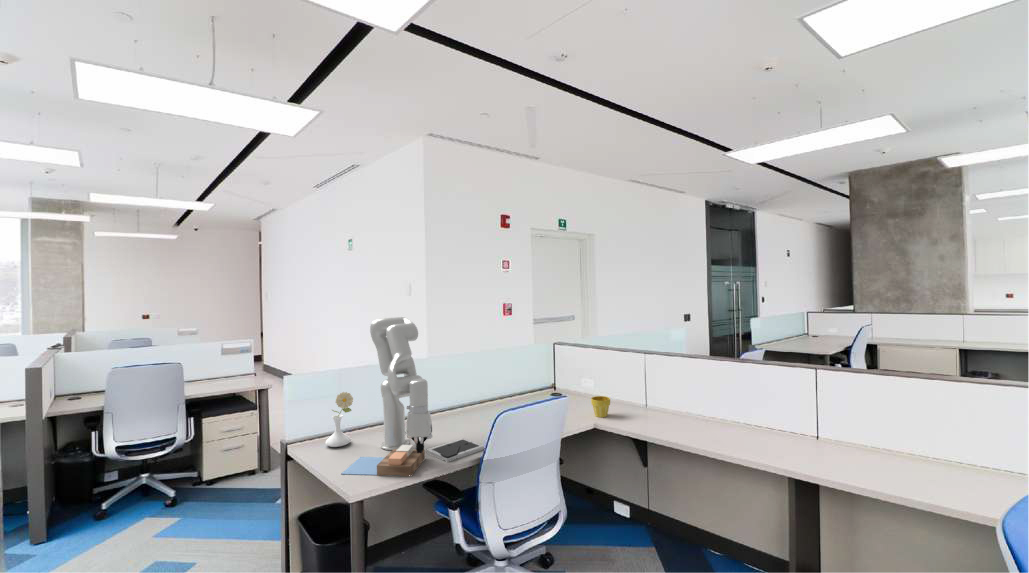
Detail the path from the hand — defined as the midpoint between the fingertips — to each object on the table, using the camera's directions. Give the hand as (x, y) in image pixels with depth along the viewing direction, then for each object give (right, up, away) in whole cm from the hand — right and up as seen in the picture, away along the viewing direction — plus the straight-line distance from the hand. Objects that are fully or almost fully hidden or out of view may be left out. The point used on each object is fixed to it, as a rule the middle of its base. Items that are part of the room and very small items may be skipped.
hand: (420, 452), depth 202 cm
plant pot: (+87, -2, +62) cm, 107 cm away
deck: (-7, -5, -3) cm, 9 cm away
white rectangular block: (-7, 0, +1) cm, 7 cm away
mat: (-21, -5, -1) cm, 22 cm away
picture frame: (+13, -5, +14) cm, 20 cm away
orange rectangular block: (-8, 0, -8) cm, 11 cm away
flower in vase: (-43, -5, +25) cm, 50 cm away
